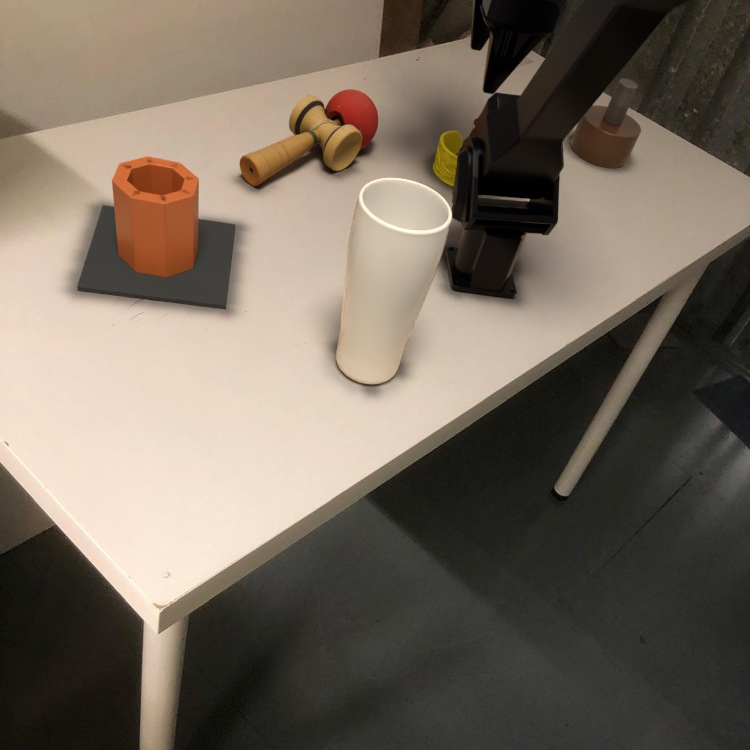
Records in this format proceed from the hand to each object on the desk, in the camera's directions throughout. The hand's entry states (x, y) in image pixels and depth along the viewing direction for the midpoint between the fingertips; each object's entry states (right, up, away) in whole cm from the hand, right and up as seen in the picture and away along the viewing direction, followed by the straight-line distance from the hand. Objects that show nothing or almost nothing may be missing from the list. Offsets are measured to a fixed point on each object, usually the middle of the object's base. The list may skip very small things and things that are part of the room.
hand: (481, 70), depth 72 cm
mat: (-29, -20, -6) cm, 36 cm away
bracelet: (0, -4, +14) cm, 14 cm away
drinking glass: (-11, -30, -9) cm, 33 cm away
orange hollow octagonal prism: (-29, -20, -6) cm, 36 cm away
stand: (+18, +3, +24) cm, 30 cm away
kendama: (-17, -5, +9) cm, 20 cm away
